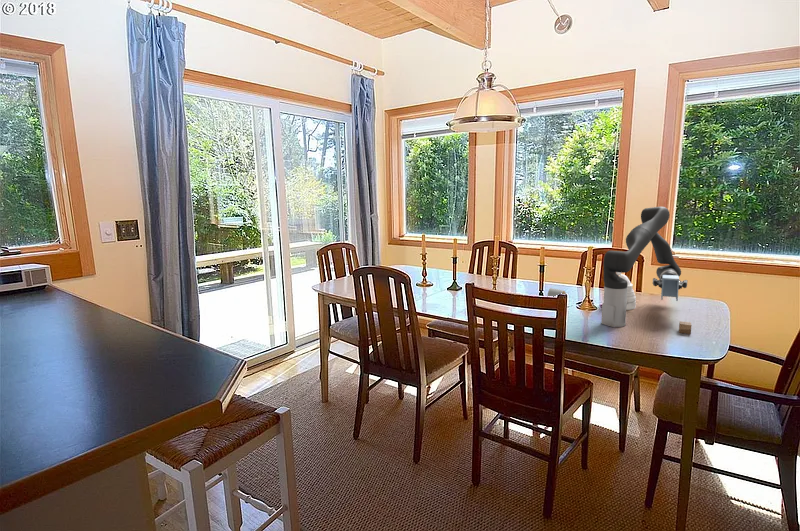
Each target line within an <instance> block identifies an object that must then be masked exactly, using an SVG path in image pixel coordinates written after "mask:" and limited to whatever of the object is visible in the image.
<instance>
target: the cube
mask: <svg viewBox="0 0 800 531" xmlns="http://www.w3.org/2000/svg"><path fill="white" fill-rule="evenodd" d="M678 333H679V334H684V333H686V334H687V335H691V334H692V322H690V321H680V320H679V321H678Z"/></svg>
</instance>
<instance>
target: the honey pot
mask: <svg viewBox="0 0 800 531" xmlns="http://www.w3.org/2000/svg"><path fill="white" fill-rule="evenodd" d="M616 274H617V275H618V276H619V277H621V278H622V279H624V280H626V281H627V283H628V286H627V305H626V311H629V310H631V311H632V310H634V309H636V306H637V297H636V294H635V290H634V289H633V286H634V284H633V283H631V281H630V279H629V277H628V276H627V275H625V274H623V273H621V272H616Z"/></svg>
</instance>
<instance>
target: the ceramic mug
mask: <svg viewBox="0 0 800 531" xmlns="http://www.w3.org/2000/svg"><path fill="white" fill-rule="evenodd" d="M547 291H548V292H547V297H548V296H553V297H554V296H556V295H558V294H561V293H562V294H566V295H567V293H566V290H563V289H557V288H553V287H550V288H549V289H548V290H547Z"/></svg>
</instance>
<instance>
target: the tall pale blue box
mask: <svg viewBox="0 0 800 531" xmlns="http://www.w3.org/2000/svg"><path fill="white" fill-rule="evenodd" d="M679 280H680V276H676V275H662V288H661V289H660V290H661V293H660V294H661V295H660V297H661V298H660V299H661V300H663V298H664V297H667V298H675V301H676V302H678V300H679V291H680V289H679Z"/></svg>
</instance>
